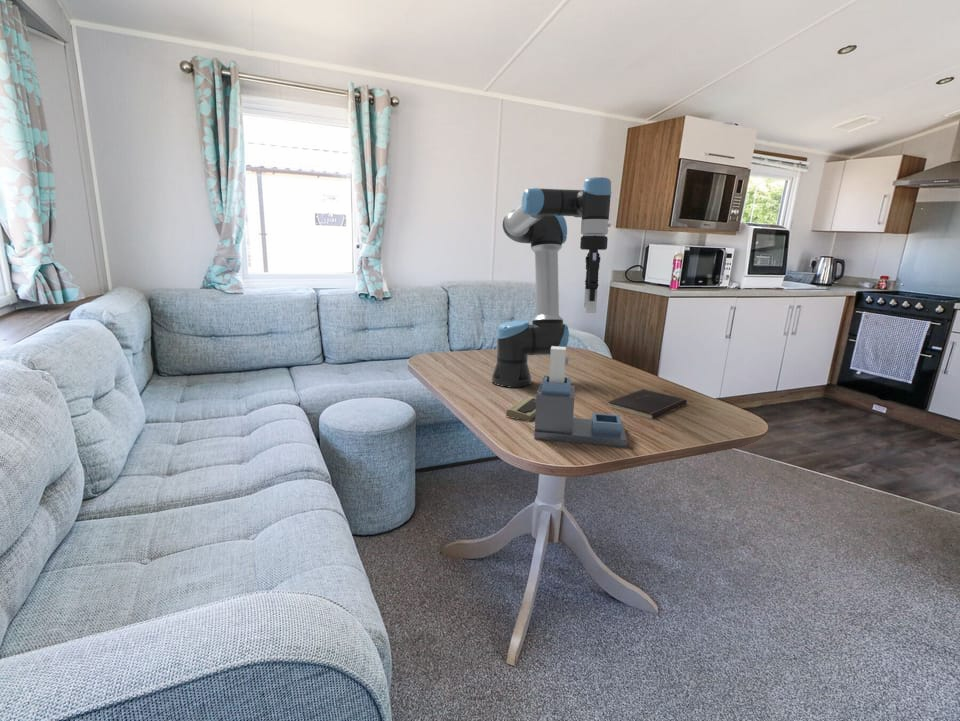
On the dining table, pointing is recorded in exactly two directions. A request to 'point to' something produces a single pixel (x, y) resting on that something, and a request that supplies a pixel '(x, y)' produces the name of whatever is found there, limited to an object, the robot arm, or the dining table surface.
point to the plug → (557, 364)
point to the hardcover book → (647, 403)
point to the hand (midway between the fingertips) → (589, 310)
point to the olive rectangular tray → (523, 409)
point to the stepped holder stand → (559, 421)
